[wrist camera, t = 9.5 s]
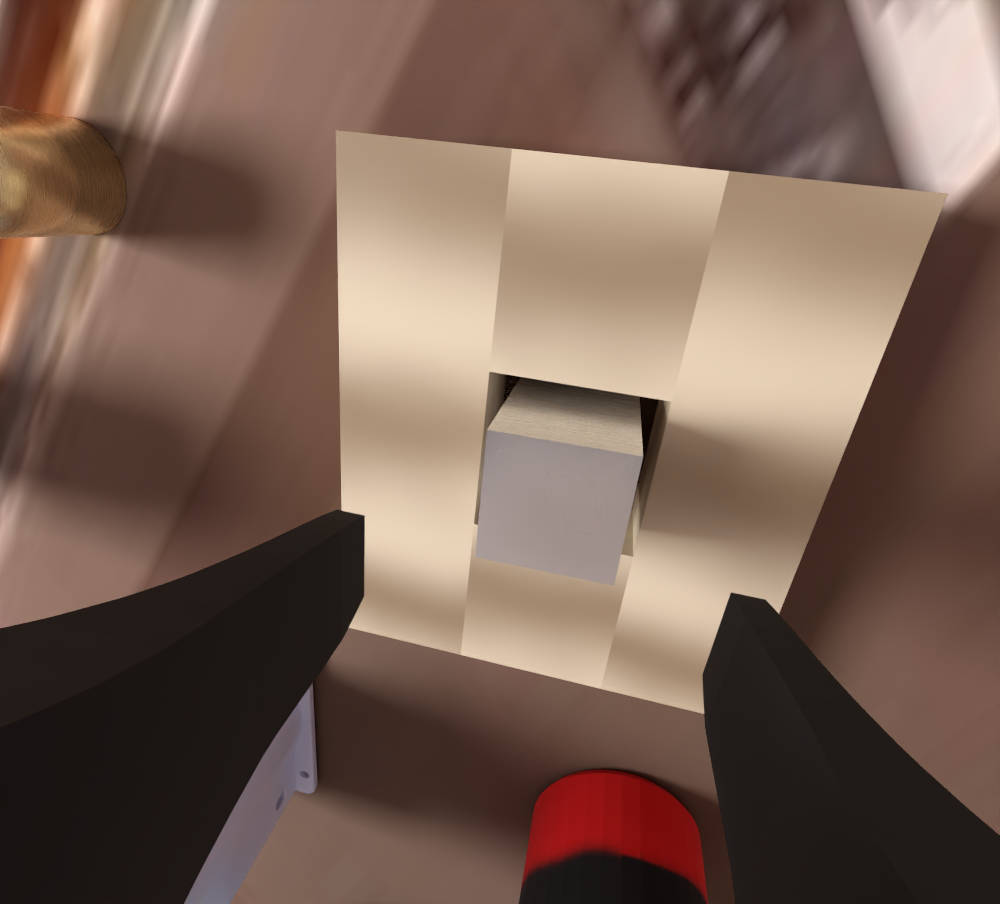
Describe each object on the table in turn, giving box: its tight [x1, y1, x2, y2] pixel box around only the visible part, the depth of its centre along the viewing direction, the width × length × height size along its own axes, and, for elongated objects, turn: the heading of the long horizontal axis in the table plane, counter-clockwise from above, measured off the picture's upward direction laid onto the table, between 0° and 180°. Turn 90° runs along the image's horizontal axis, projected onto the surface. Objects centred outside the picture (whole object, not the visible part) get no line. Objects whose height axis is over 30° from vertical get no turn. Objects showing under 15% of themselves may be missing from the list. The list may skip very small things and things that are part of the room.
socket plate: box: [336, 131, 948, 714], centre depth 18 cm, size 16×14×3 cm
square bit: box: [475, 377, 643, 586], centre depth 16 cm, size 4×4×6 cm
